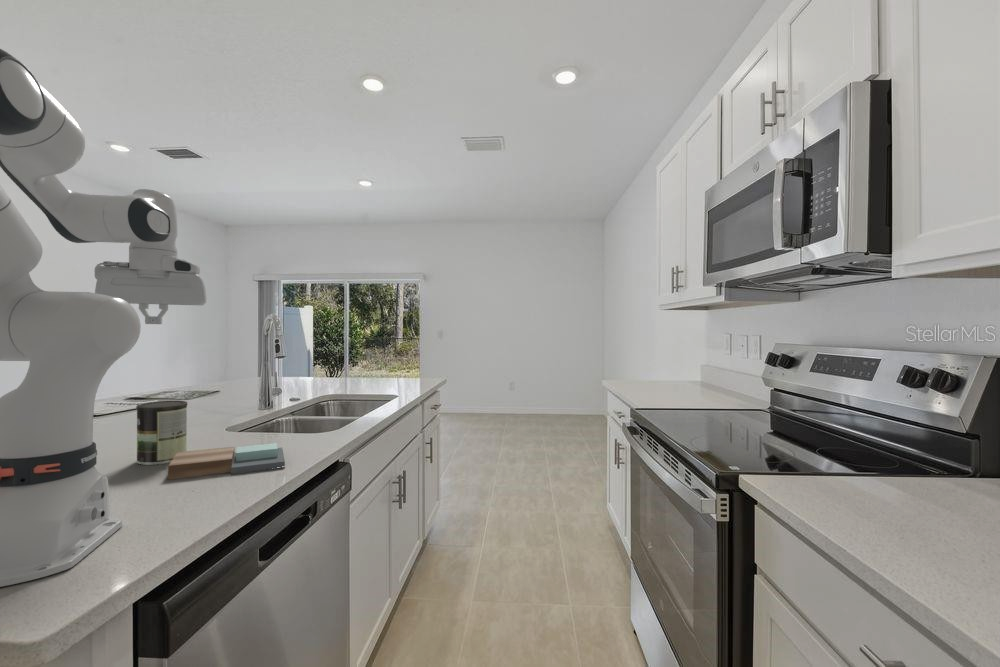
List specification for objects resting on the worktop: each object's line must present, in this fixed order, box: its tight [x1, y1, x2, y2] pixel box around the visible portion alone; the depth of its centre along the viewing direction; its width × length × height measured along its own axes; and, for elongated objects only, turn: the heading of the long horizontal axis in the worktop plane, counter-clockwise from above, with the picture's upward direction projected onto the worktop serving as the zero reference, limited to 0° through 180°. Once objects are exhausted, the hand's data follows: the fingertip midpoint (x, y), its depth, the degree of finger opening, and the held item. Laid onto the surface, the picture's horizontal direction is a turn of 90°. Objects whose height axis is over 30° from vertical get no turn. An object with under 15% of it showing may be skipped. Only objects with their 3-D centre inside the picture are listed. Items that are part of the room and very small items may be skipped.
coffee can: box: [135, 400, 188, 466], centre depth 113 cm, size 10×10×14 cm
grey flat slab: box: [230, 447, 286, 475], centre depth 111 cm, size 14×11×2 cm
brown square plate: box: [167, 446, 236, 480], centre depth 106 cm, size 12×12×3 cm
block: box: [235, 442, 279, 461], centre depth 112 cm, size 6×9×2 cm, turn 119°
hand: (153, 324), depth 103 cm, fingers closed
